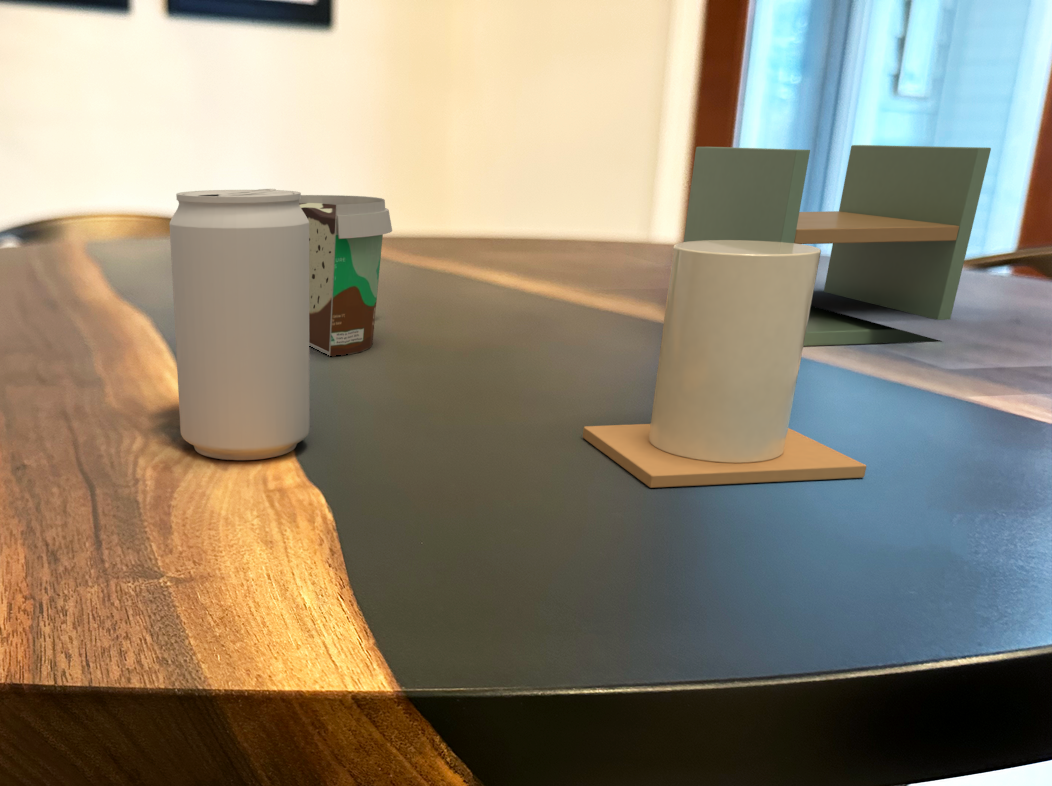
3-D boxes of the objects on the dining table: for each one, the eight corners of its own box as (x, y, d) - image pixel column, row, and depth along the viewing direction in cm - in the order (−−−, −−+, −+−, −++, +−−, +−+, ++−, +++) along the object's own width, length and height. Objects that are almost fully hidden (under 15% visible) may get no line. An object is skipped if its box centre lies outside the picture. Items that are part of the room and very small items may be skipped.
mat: (768, 429, 52) (770, 418, 52) (864, 478, 45) (867, 465, 45) (581, 437, 51) (583, 426, 51) (650, 488, 44) (651, 475, 44)
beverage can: (168, 436, 52) (152, 188, 48) (285, 423, 54) (281, 185, 50) (200, 471, 47) (187, 196, 42) (329, 456, 49) (330, 191, 44)
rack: (830, 310, 86) (862, 145, 81) (945, 341, 73) (992, 147, 68) (673, 314, 85) (696, 146, 80) (762, 347, 72) (796, 149, 67)
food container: (419, 353, 71) (425, 202, 67) (338, 360, 69) (339, 205, 65) (347, 324, 82) (348, 192, 78) (275, 330, 80) (273, 195, 76)
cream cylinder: (742, 425, 51) (773, 238, 48) (810, 460, 46) (851, 252, 42) (628, 430, 50) (650, 241, 47) (683, 466, 45) (714, 255, 41)
